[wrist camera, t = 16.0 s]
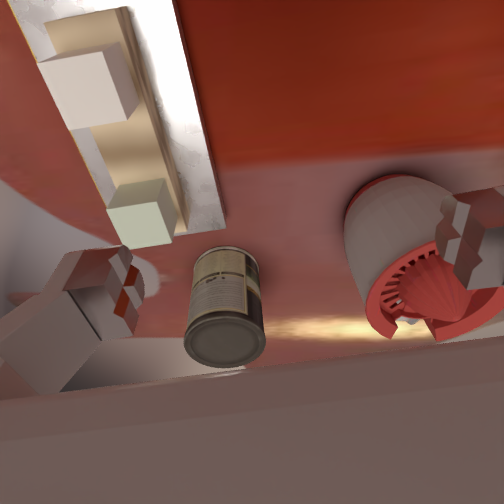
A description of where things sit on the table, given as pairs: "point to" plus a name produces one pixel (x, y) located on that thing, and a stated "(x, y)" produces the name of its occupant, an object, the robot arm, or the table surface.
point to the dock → (164, 89)
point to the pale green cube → (143, 213)
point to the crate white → (91, 85)
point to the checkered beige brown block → (142, 119)
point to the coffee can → (225, 309)
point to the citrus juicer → (409, 261)
